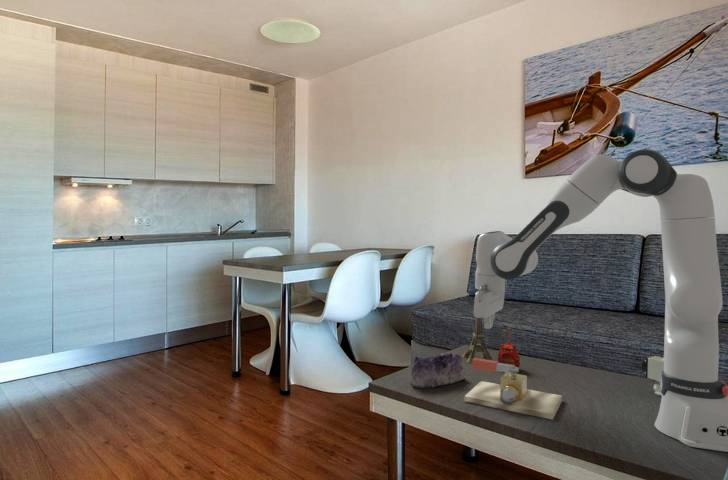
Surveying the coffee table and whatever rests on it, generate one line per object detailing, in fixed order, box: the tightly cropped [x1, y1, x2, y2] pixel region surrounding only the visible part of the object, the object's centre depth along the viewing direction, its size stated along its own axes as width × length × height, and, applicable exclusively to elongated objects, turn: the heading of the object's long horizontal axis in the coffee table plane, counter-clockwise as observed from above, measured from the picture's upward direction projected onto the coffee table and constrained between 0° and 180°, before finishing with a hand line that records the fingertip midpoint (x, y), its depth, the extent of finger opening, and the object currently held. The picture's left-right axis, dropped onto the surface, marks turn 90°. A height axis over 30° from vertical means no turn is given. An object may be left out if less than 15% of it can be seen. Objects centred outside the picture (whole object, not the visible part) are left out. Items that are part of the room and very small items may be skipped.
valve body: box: [499, 372, 528, 405], centre depth 135 cm, size 6×16×6 cm, turn 149°
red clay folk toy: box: [497, 325, 521, 369], centre depth 166 cm, size 8×7×15 cm
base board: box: [463, 380, 563, 421], centre depth 135 cm, size 24×16×2 cm, turn 59°
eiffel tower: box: [460, 317, 494, 364], centre depth 178 cm, size 11×11×25 cm
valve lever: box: [471, 357, 520, 377], centre depth 138 cm, size 13×3×3 cm, turn 59°
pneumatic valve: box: [640, 355, 664, 397], centre depth 141 cm, size 6×12×12 cm, turn 32°
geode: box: [410, 353, 466, 389], centre depth 151 cm, size 20×12×10 cm, turn 128°
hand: (488, 327), depth 144 cm, fingers closed
